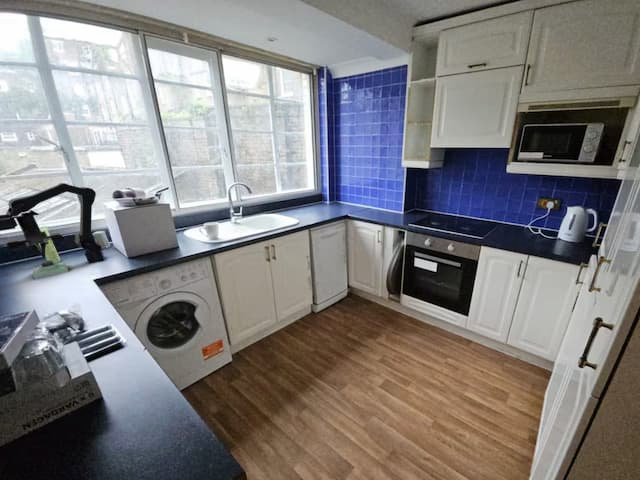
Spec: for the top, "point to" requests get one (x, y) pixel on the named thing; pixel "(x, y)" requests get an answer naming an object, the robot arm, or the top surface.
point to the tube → (49, 248)
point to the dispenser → (49, 270)
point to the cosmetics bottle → (101, 239)
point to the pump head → (47, 263)
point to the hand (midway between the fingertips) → (44, 257)
